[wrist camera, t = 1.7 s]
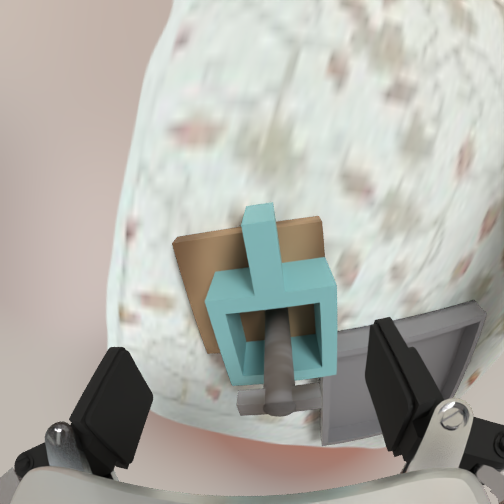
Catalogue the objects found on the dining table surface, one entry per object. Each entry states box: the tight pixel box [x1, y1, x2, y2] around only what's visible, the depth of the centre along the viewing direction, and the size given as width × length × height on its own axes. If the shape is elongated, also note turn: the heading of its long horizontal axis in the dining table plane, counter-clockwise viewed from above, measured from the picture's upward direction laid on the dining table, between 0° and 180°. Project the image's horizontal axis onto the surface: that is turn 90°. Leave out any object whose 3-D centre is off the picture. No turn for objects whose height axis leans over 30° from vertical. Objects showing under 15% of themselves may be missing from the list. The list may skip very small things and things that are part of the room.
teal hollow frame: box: [205, 202, 337, 386], centre depth 22 cm, size 9×14×4 cm, turn 10°
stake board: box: [172, 216, 325, 416], centre depth 20 cm, size 12×12×12 cm
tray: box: [320, 300, 487, 446], centre depth 29 cm, size 20×20×3 cm
